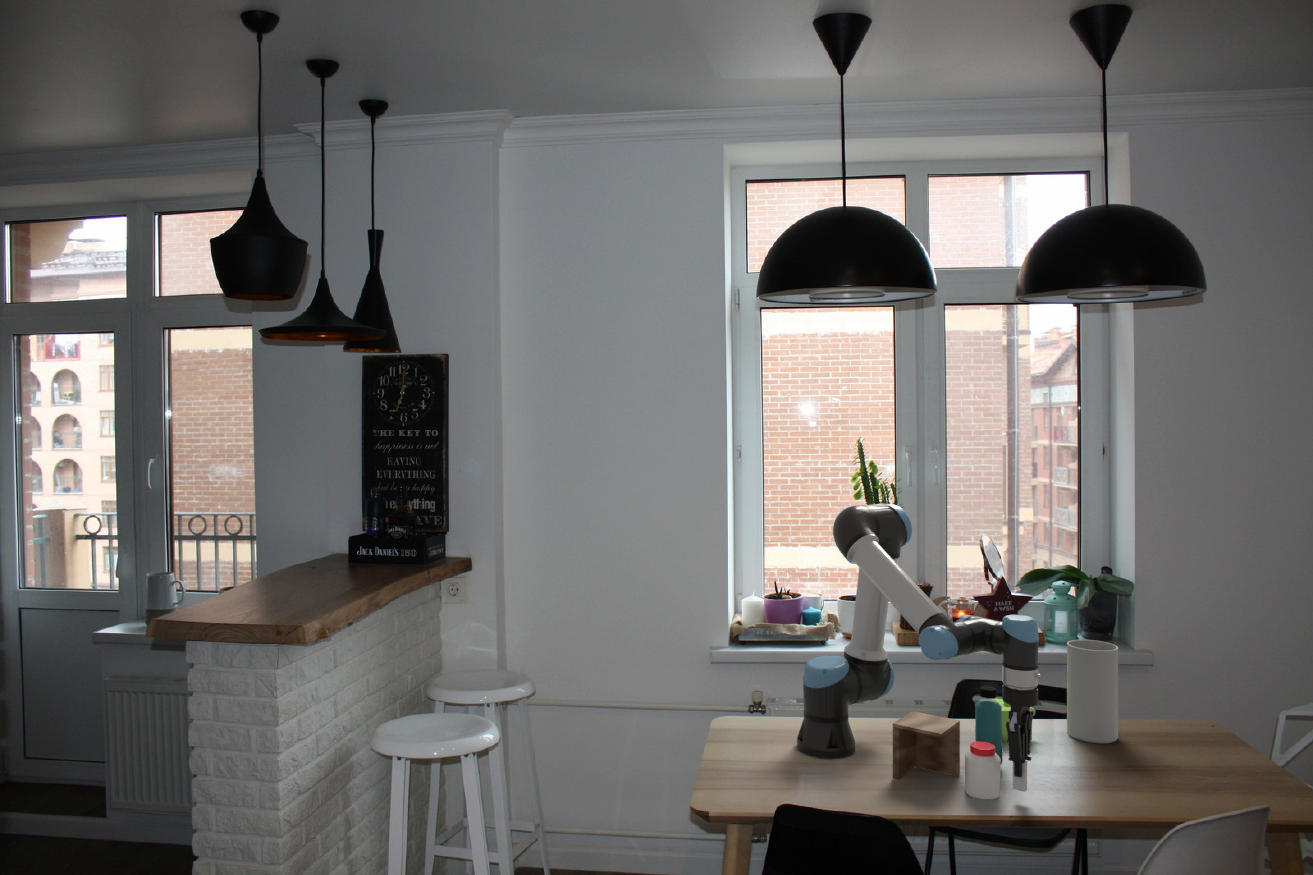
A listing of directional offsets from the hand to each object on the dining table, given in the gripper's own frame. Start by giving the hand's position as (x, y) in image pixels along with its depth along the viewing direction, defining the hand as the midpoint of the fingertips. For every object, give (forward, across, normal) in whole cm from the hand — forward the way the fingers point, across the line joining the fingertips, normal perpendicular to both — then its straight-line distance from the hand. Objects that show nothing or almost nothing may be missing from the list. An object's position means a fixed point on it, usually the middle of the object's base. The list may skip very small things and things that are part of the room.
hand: (1019, 789), depth 201 cm
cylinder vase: (+3, +56, -3) cm, 56 cm away
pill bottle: (+3, 0, +8) cm, 9 cm away
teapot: (+3, +41, +15) cm, 44 cm away
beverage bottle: (+3, +16, +12) cm, 20 cm away
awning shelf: (+3, +1, +22) cm, 22 cm away
